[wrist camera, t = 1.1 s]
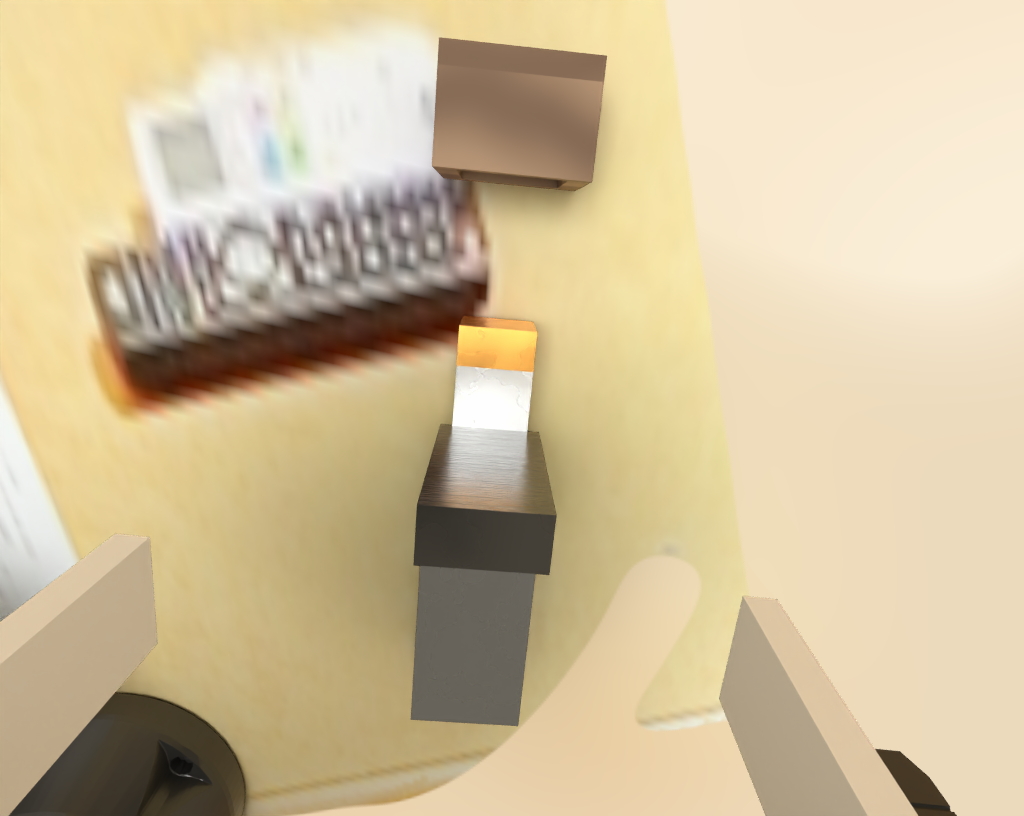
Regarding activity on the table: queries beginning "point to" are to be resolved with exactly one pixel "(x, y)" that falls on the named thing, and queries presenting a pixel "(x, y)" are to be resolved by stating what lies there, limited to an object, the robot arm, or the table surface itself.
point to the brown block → (516, 114)
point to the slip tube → (488, 461)
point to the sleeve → (471, 645)
